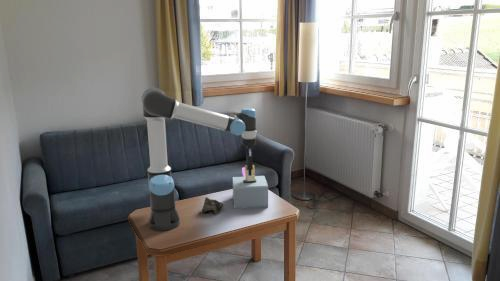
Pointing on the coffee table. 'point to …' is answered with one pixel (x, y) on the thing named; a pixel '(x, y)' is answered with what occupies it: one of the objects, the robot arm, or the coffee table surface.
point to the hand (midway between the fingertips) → (249, 179)
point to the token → (252, 172)
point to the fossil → (212, 205)
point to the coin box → (250, 192)
